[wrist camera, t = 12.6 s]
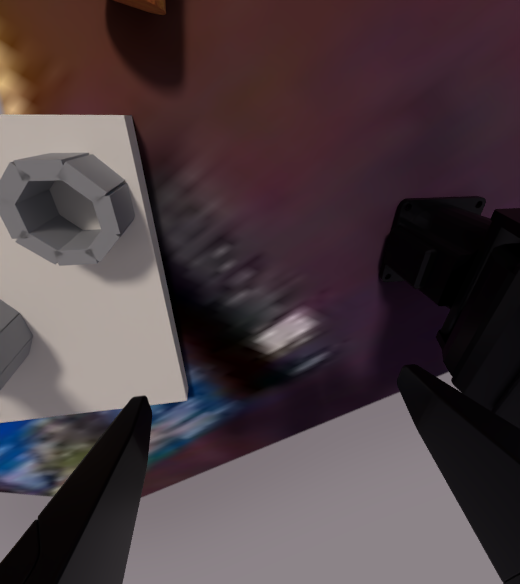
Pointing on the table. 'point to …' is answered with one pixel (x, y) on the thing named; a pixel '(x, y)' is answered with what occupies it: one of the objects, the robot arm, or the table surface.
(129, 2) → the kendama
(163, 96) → the table surface
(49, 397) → the socket plate
